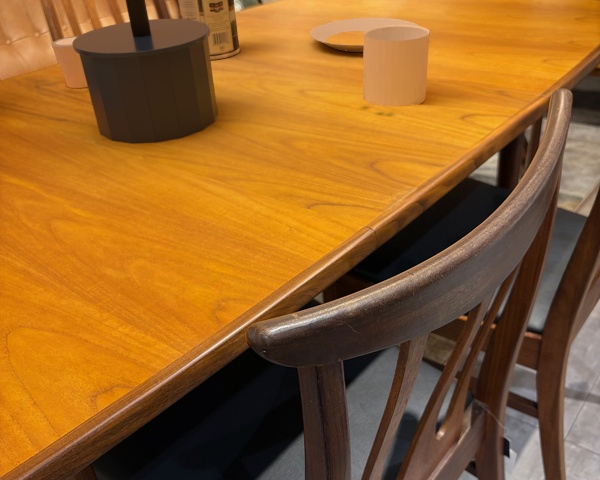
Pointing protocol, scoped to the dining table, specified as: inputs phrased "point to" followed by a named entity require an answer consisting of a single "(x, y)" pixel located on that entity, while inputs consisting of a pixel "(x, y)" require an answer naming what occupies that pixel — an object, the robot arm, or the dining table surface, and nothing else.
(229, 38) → the coffee can
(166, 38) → the lid
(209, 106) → the pot
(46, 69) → the dining table surface
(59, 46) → the shot glass
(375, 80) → the mug
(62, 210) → the dining table surface
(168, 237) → the dining table surface
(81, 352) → the dining table surface
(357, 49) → the plate
